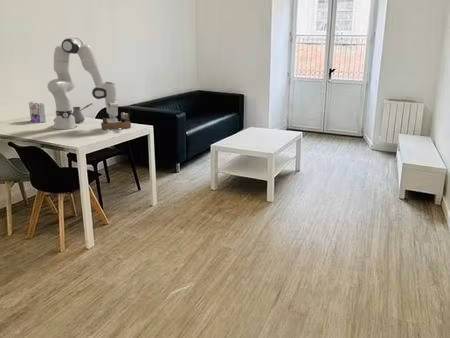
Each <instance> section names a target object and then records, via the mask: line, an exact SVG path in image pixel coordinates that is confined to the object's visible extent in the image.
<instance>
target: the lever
mask: <svg viewBox="0 0 450 338" xmlns="http://www.w3.org/2000/svg"><path fill="white" fill-rule="evenodd" d="M127 114H128V113H127V112H126V113H125V111H124V112H120V119H121V120H120V121H121V122H125V121H126V119H128V115H127Z"/></svg>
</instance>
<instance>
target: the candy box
mask: <svg viewBox="0 0 450 338" xmlns="http://www.w3.org/2000/svg"><path fill="white" fill-rule="evenodd" d="M28 106H29V114H30V121H31V122H35V123H40V124H42V123H46V122H47V120H46V111H45V103H44V102H39V101H35V100H34V101H29V102H28Z"/></svg>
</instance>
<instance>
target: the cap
mask: <svg viewBox="0 0 450 338" xmlns="http://www.w3.org/2000/svg"><path fill="white" fill-rule="evenodd" d="M106 119H107V123H118V121H119V119H118V118H117V117H116V119H115V121H113V117H112V118H111V119H110V118H106Z"/></svg>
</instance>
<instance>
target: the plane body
mask: <svg viewBox="0 0 450 338" xmlns="http://www.w3.org/2000/svg"><path fill="white" fill-rule="evenodd" d="M127 115H128V119H125V122H121V120H120V121H119V120H118V123H107V119H108V118H107V117H103V118H102V122H101V123H100V124H101V125H100V126H101V130H103V131H107V130H106V129H114V130H119V129H118V128H125V129H131V128H132V125H131V121H130V114H129V113H127ZM130 127H131V128H130Z"/></svg>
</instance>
